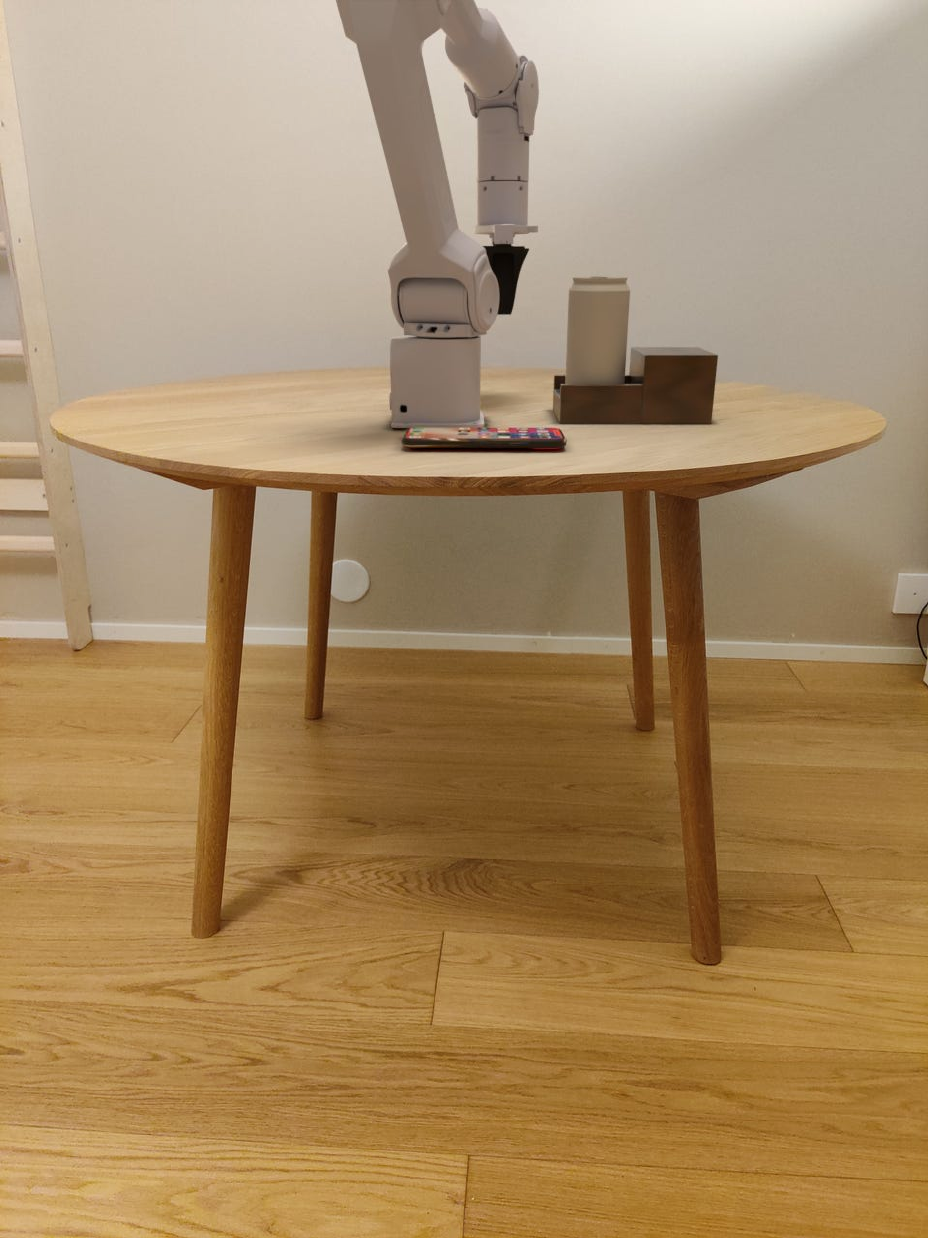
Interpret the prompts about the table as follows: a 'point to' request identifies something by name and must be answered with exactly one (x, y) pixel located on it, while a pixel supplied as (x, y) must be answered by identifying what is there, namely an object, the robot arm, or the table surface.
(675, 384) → the wooden desk organizer
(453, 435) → the smartphone
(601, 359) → the beverage can
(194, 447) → the table surface
